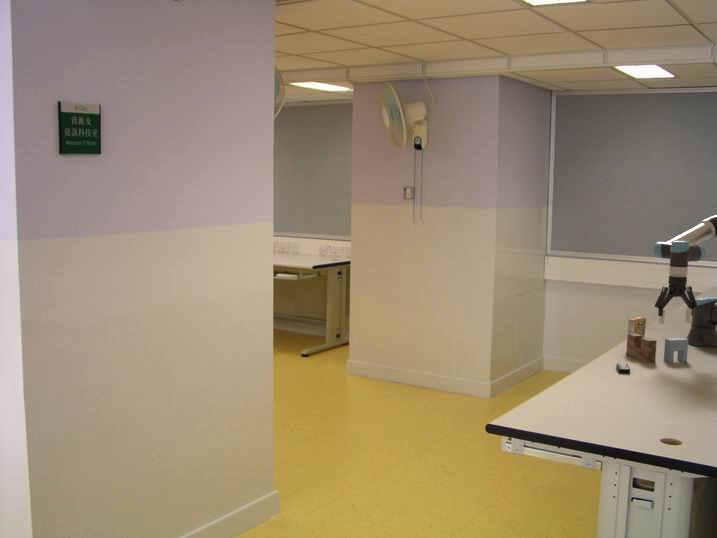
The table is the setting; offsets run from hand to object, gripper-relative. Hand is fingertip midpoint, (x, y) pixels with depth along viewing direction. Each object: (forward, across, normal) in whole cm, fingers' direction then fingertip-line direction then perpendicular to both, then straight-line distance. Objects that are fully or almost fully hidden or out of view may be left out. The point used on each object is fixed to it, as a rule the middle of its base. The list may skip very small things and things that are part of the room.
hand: (674, 323), depth 354 cm
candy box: (+17, +4, -22) cm, 28 cm away
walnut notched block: (+17, +12, -6) cm, 22 cm away
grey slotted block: (+17, -1, +1) cm, 17 cm away
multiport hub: (+18, +33, +12) cm, 39 cm away
